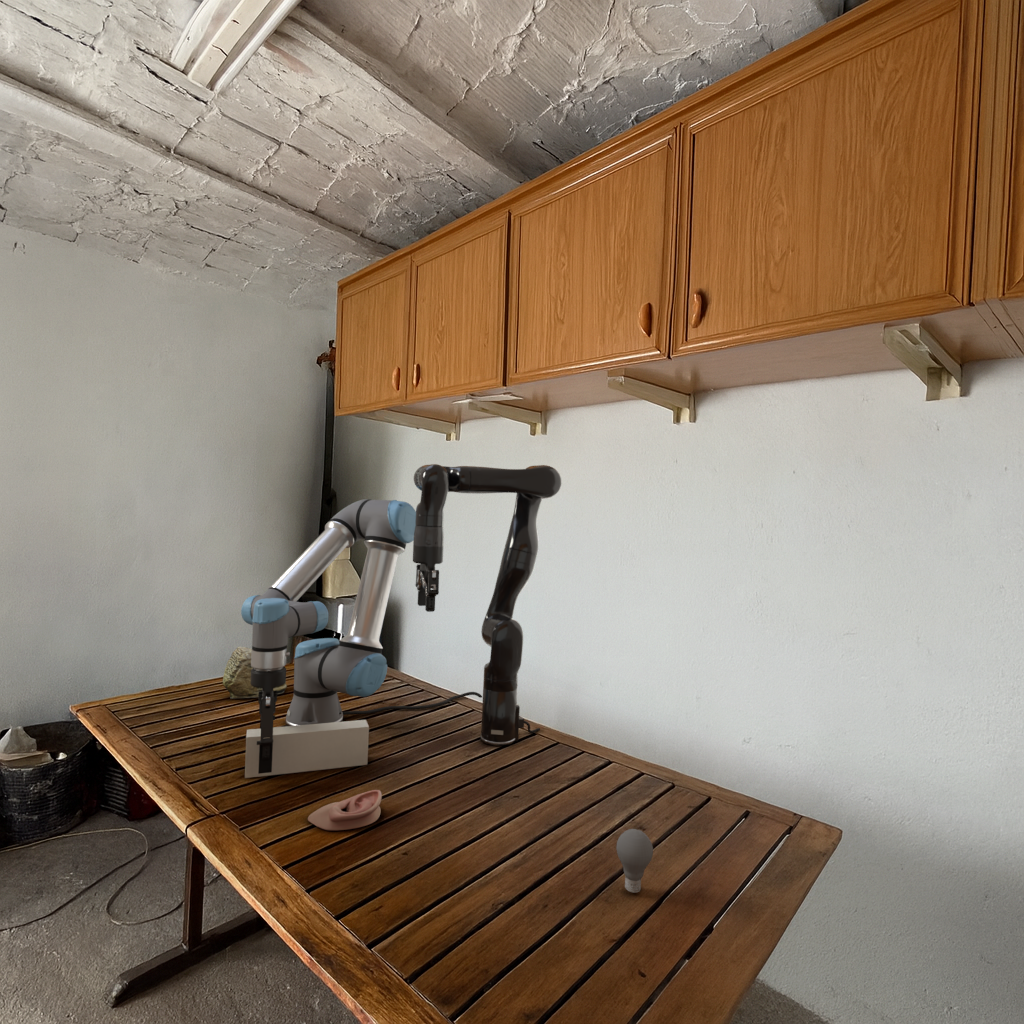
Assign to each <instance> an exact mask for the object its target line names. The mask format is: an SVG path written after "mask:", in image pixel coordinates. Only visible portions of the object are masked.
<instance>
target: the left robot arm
mask: <svg viewBox="0 0 1024 1024" xmlns="http://www.w3.org/2000/svg"><path fill="white" fill-rule="evenodd" d="M415 519H416V508H414V506H413V505H411V504H410V503H409V502H406V501H401V500H397V499H393V500H392V499H391V500H390V499H389V500H387V499H371V498H365V499H364V498H363V499H360V500H357V501H354V502H352V503H350V504H347V506H345V507H344V508H342V509H341V510H340V511H338V512H337V513H336V514H334V515H333V516H332V518H330V519H329V521H327V523H326V524H325V525H324V530H323V531H322V532H321V533H320V534H319V535H318V537H317V538H316V539H314V540H313V542H312V543H311V544H310V545H309V546H308V547H307V548H306V549H305V550H304V551H303V552H302V553H301V554H300V555H299V556H298V557H297V558H296V559H295V560H294V561H293V563H291V564H290V565H289V566H288V568H287V569H285V571H284V572H283V573H282V574H280V576H279V577H278V578H277V579H276V580H275V581H274V582H273V583H271V585H269V587H268V588H267V589H266V591H264V592H263V593H262V595H260V594H257V595H251V596H249V597H247V598H246V599H245V600H244V601H243V603H242V605H241V609H240V615H241V618H242V619H243V620H242V621H244V622H245V623H246V624H247V625H251V626H252V635H251V636H252V637H251V640H252V641H251V649H252V652H251V666H252V667H253V669H252V670H251V685H252V686H253V687H256V688H262V691H259V696H258V697H257V699H258V700H257V702H258V704H259V705H258V714H259V715H260V718H259V720H260V722H259V729H261V740H260V741H257V745H260V746H259V770H258V774H260V773H270V772H272V752H273V727H274V721H276V715H275V713H276V707H277V705H276V704H277V702H278V694H277V690H274V691H273V688H275V687H279V686H282V685H283V684H284V683H285V682H286V683H287V667H286V665H287V657H289V656H290V654H291V653H290V651H287V650H288V649H287V648H288V641H289V639H290V638H293V637H297V636H298V637H299V636H304V635H309V634H311V635H312V634H314V633H317V632H319V631H320V632H321V631H322V630H324V629H325V628H326V627H327V626H328V622H329V617H330V616H329V611H328V608H327V606H326V605H325V604H324V603H323V602H321V601H319V600H316V601H314V600H313V601H312V600H309V601H307V602H306V601H305V602H304V601H303V602H301V601H299V599H300V598H301V597H302V596H303V595H304V594H305V593H306V592H307V591H308V590H309V588H311V587H312V585H313V584H314V583H315V582H316V581H317V580H318V579H319V577H320V576H321V575H322V574H323V573H324V572H325V571H326V570H327V569H328V568H329V567H330V565H331V564H332V563H333V562H334V561H335V560H336V559H337V558H338V557H339V555H341V554H342V552H343V551H344V550H345V549H350V548H352V547H353V545H355V544H356V543H357V542H359V541H361V540H363V545H364V546H365V547H366V548H367V553H366V556H365V560H364V564H363V568H362V572H361V576H360V580H359V585H358V589H357V593H356V598H355V601H354V606H353V610H352V614H351V618H350V622H349V627H348V632H347V634H346V635H345V636H344V637H342V638H340V640H339V639H338V638H335V637H324V638H323V637H322V638H313V639H308V640H304V641H302V642H299V643H298V644H297V645H296V647H295V652H294V653H295V654H294V657H293V658H294V660H293V662H294V663H293V665H294V666H293V695H292V696H293V697H292V699H291V702H290V704H289V708H288V709H287V713H286V715H285V726H297V725H309V724H321V723H332V722H344V716H351V715H368V714H369V715H370V714H375V713H379V712H383V711H389V710H390V711H391V710H407V711H408V710H411V711H412V710H413V711H414V710H424V709H425V710H426V709H432V708H436V707H440V706H443V705H446V704H448V703H450V702H451V701H454V700H457V699H461V698H464V697H468V696H476V697H478V698H479V699H480V698H482V699H483V695H482V694H481V693H478V692H477V691H468V692H464V693H461V694H458V695H454V696H451V697H448V698H447V699H445V700H444V701H440V702H436V703H430V704H426V705H424V704H423V705H410V706H408V705H390V706H383V707H379V708H373V709H368V710H350V711H349V710H348V711H343V709H342V706H341V702H340V699H339V695H338V693H342V694H346V695H349V696H350V697H361V698H367V697H370V696H372V695H373V694H375V693H376V692H377V691H378V690H379V689H380V688H381V687H382V685H383V683H384V682H385V679H386V676H387V674H388V673H387V672H388V664H387V658H386V657H385V656H384V655H383V650H384V647H383V646H382V644H381V642H380V637H381V633H382V628H383V624H384V619H385V615H386V610H387V607H388V601H389V597H390V594H391V589H392V584H393V581H394V575H395V573H396V572H395V571H396V567H397V563H398V558H399V556H400V555H402V553H405V551H406V547H407V544H410V543H412V542H414V531H415V526H416V525H415ZM266 737H270V738H266ZM263 738H265V739H263Z"/></svg>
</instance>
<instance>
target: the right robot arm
mask: <svg viewBox="0 0 1024 1024" xmlns="http://www.w3.org/2000/svg"><path fill="white" fill-rule="evenodd" d="M413 483H414V485H415V487H416V488H417V489H418V490H420V491H421V493H420V500H419V503H418V504H417V505H416V508H415V511H416V519H415V525H416V526H415V531H414V540H413V541H412V542H413V545H412V562H413V563H415V564H416V565H415V567H416V573H415V584H414V585H415V587H416V591H417V606H419V607H425V608H424V609H425V611H426V612H427V613H428V612H429V613H431V612H432V613H433V612H435V610H436V597H437V596H439V594H440V590H439V589H440V571H439V569H436V565H441V564H442V563H443V562H444V541H445V532H444V531H445V530H444V521H445V518H444V517H445V505H446V502H447V498H448V493H456V494H457V493H458V494H475V495H476V494H477V495H478V494H482V495H483V494H509V493H510V494H516V495H515V502H514V509H513V513H512V519H511V522H510V526H509V529H508V533H507V537H506V541H505V544H504V548H503V553H502V556H501V561H500V565H499V569H498V573H497V577H496V581H495V586H494V590H493V593H492V597H491V600H490V602H489V605H488V608H487V610H486V613H485V617H484V619H483V622H482V625H481V639H482V640H483V642H484V643H485V645H487V646H488V647H490V657H489V658H490V659H489V662H487V663H485V665H484V666H483V683H482V702H481V703H482V704H481V705H482V707H481V725H480V726H481V727H480V728H481V730H480V741H481V742H482V743H484V744H486V745H489V746H495V747H502V746H503V747H504V746H510V745H512V744H514V743H515V742H519V734H520V733H519V731H520V730H519V729H524V728H525V725H526V726H527V732H528V733H529V734H534V733H537V732H539V731H541V728H540V727H538V728H535V729H533V730H531V724H530V723H529V722H528V721H526V720H525V718H523V717H522V716H521V715H520V711H521V709H520V708H521V707H520V706H521V705H519V704H518V686H519V671H520V669H521V666H522V661H523V650H524V630H523V627H522V625H521V624H520V622H519V621H518V620H516V619H515V618H513V617H514V613H515V607H516V604H517V601H518V599H519V596H520V594H521V592H522V591H523V590H524V588H526V586H527V584H528V582H529V580H530V579H531V577H532V575H533V573H534V570H535V568H536V563H537V559H538V554H539V549H540V540H539V532H538V515H539V510H540V507H541V504H542V500H548V499H551V498H553V497H555V496H556V495H558V493H559V492H560V490H561V488H562V484H563V483H562V477H561V473H560V472H559V471H558V470H557V469H556V468H555V467H552V466H550V465H547V464H546V465H545V464H540V465H539V464H538V465H530V466H528V467H527V466H526V468H517V469H516V468H499V467H489V466H488V467H487V466H475V465H457V466H445V465H444V466H443V465H440V464H438V463H432V464H424V465H421V466H419V467H418V468H417V469H416V471H415V472H414V474H413Z"/></svg>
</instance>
